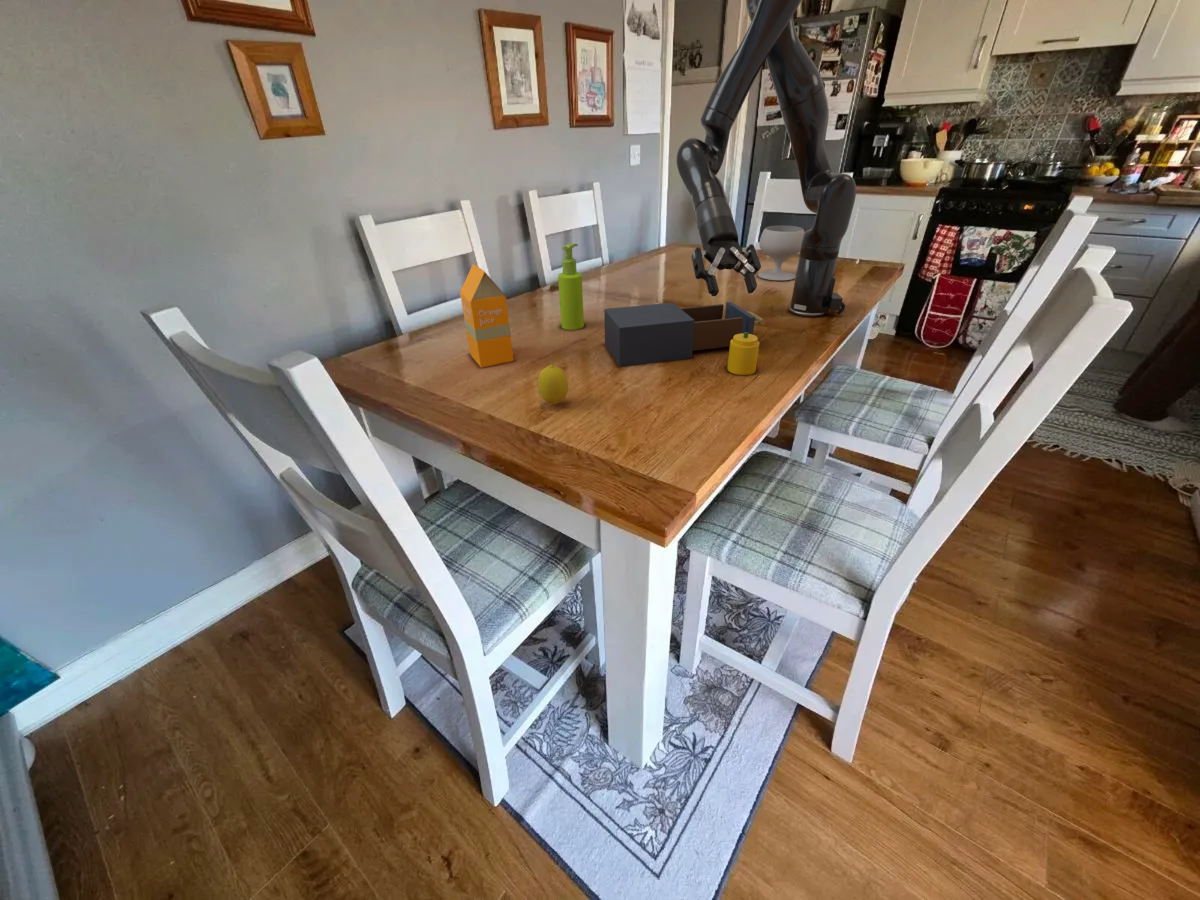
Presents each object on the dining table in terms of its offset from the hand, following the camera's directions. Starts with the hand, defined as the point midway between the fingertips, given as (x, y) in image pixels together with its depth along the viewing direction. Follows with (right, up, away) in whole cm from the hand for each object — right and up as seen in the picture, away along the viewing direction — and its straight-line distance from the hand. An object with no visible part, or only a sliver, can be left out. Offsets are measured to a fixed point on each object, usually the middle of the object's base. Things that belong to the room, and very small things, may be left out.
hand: (734, 292), depth 107 cm
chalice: (+31, +25, +63) cm, 75 cm away
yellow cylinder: (+2, -16, 0) cm, 16 cm away
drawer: (-1, -7, +13) cm, 15 cm away
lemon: (-37, -25, -11) cm, 46 cm away
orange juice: (-53, -12, +9) cm, 55 cm away
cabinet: (-17, -10, +10) cm, 23 cm away
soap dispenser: (-35, 0, +27) cm, 44 cm away
